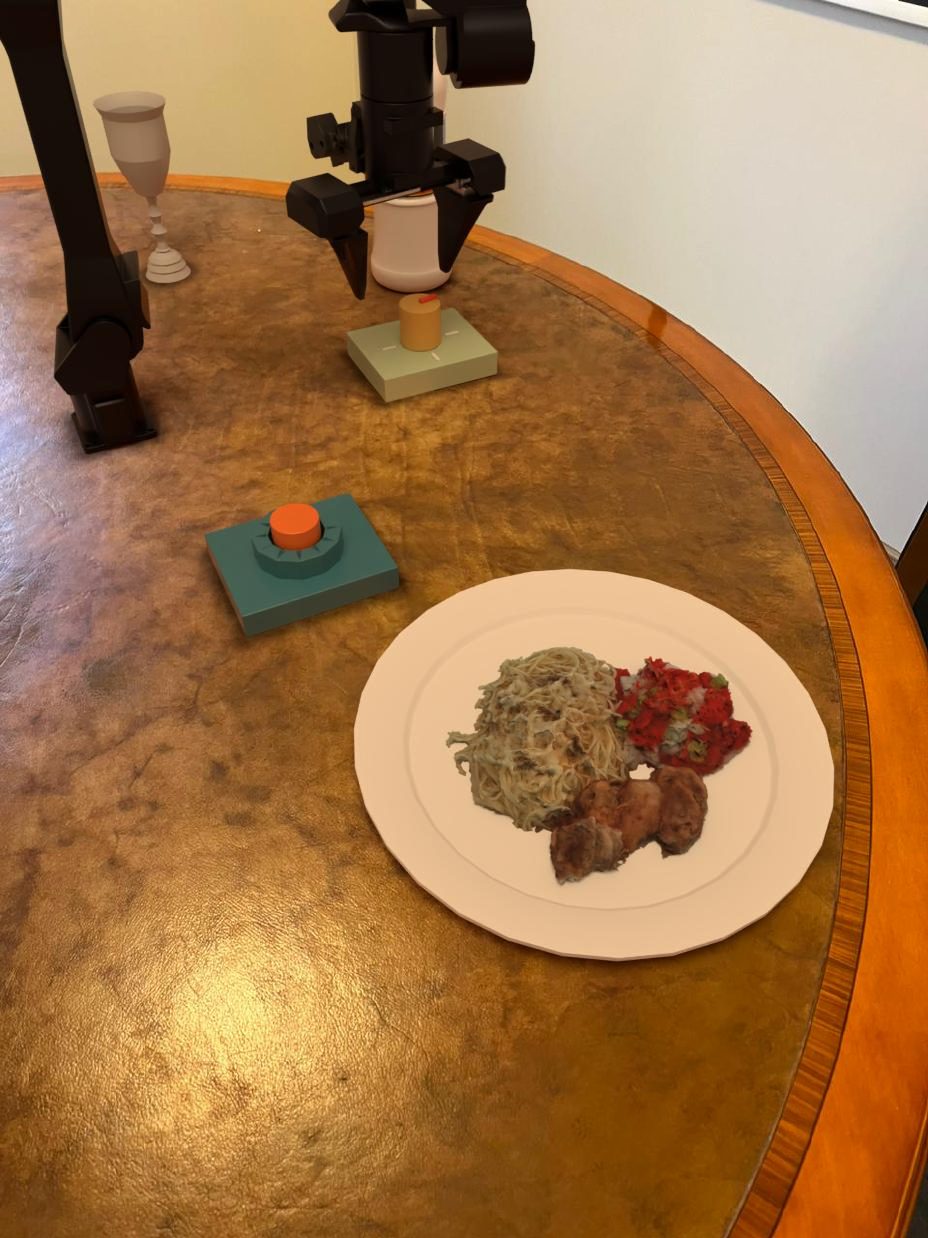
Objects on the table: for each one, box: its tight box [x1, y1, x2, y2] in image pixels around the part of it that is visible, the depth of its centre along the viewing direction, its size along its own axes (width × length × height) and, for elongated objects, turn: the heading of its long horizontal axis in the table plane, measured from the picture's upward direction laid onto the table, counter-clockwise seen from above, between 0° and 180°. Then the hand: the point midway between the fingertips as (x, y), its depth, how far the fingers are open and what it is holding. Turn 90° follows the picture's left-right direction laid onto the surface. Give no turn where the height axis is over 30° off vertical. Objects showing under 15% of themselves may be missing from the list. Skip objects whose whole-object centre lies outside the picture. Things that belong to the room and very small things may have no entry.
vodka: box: [370, 0, 453, 293], centre depth 96 cm, size 9×9×30 cm
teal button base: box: [204, 492, 400, 638], centre depth 70 cm, size 10×12×4 cm
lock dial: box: [398, 293, 442, 351], centre depth 90 cm, size 4×4×4 cm
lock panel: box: [345, 307, 499, 404], centre depth 93 cm, size 10×12×3 cm
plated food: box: [353, 568, 835, 962], centre depth 59 cm, size 30×30×3 cm
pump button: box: [270, 502, 321, 551], centre depth 69 cm, size 4×4×2 cm
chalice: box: [92, 90, 192, 284], centre depth 101 cm, size 7×7×18 cm
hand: (402, 284), depth 83 cm, fingers open, 9 cm apart
